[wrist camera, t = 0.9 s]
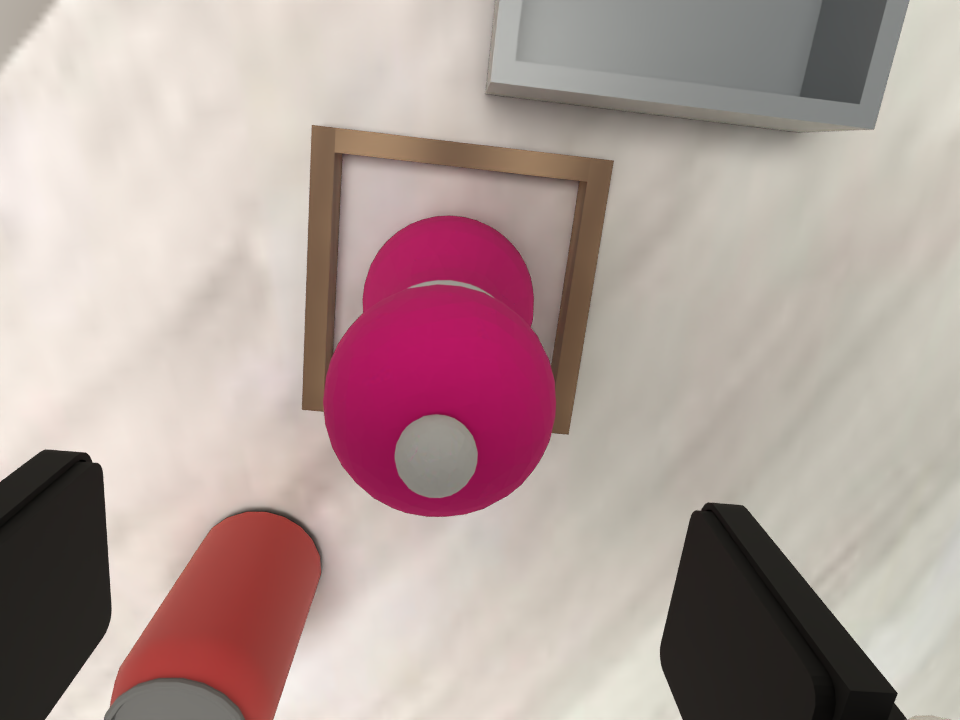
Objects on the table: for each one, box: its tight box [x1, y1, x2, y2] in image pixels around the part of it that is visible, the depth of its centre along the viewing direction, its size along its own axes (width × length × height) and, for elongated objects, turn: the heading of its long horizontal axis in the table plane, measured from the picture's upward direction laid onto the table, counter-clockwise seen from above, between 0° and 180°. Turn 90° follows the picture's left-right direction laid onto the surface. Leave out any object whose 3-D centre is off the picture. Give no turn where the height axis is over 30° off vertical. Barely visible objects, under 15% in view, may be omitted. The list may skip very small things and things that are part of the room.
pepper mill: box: [323, 216, 556, 517], centre depth 23 cm, size 7×7×20 cm
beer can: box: [104, 512, 321, 720], centre depth 31 cm, size 7×7×12 cm
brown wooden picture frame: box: [302, 125, 614, 434], centre depth 32 cm, size 13×13×2 cm
